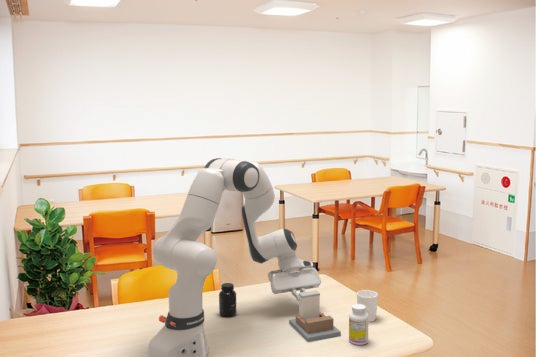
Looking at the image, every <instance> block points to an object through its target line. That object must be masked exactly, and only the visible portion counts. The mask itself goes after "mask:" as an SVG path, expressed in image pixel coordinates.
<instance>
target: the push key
mask: <svg viewBox="0 0 536 357" xmlns="http://www.w3.org/2000/svg"><path fill="white" fill-rule="evenodd" d="M298 295H299V301H298V309H299V310H298V315H299V316H300V317H301V318H302V319H303V320H304V321H305V320H307V319H313V318H319V317H320V312H321V311H320V309H321V308H320V300H321V298H320V295H321V292H319V291H318V290H311V291H310V290H309V291H305V292H303V293H302V292H298Z"/></svg>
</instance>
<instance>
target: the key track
mask: <svg viewBox="0 0 536 357" xmlns="http://www.w3.org/2000/svg"><path fill="white" fill-rule="evenodd" d="M288 324H289V325H290V326H291V327H292V328H293V329H294V330H295V331H296V332H297V333H298V334H299V335H300V336H301V337H302V338H303V339H304V340H305V341H306V342H308V343H309V342H315V341H320V340H325V339H330V338H335V337H341V335H342V331H341V330H339V328H337V327H336V326H335V325H334V318H333V317H332V316H331V315H326V314H324V312H321V311H320V317H319V318H313V319H307V320H305V321H304V320H303V319H302V318H301V317H300V316H299V314H298V315H296V316H295V318H290V319H289V320H288Z"/></svg>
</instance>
